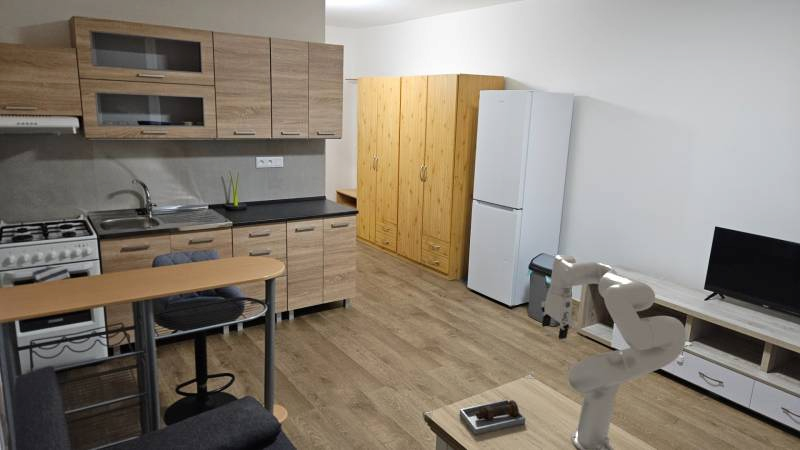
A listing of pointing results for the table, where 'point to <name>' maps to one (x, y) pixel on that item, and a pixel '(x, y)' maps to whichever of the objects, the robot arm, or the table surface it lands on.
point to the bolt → (498, 411)
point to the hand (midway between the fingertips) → (553, 332)
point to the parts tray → (492, 425)
